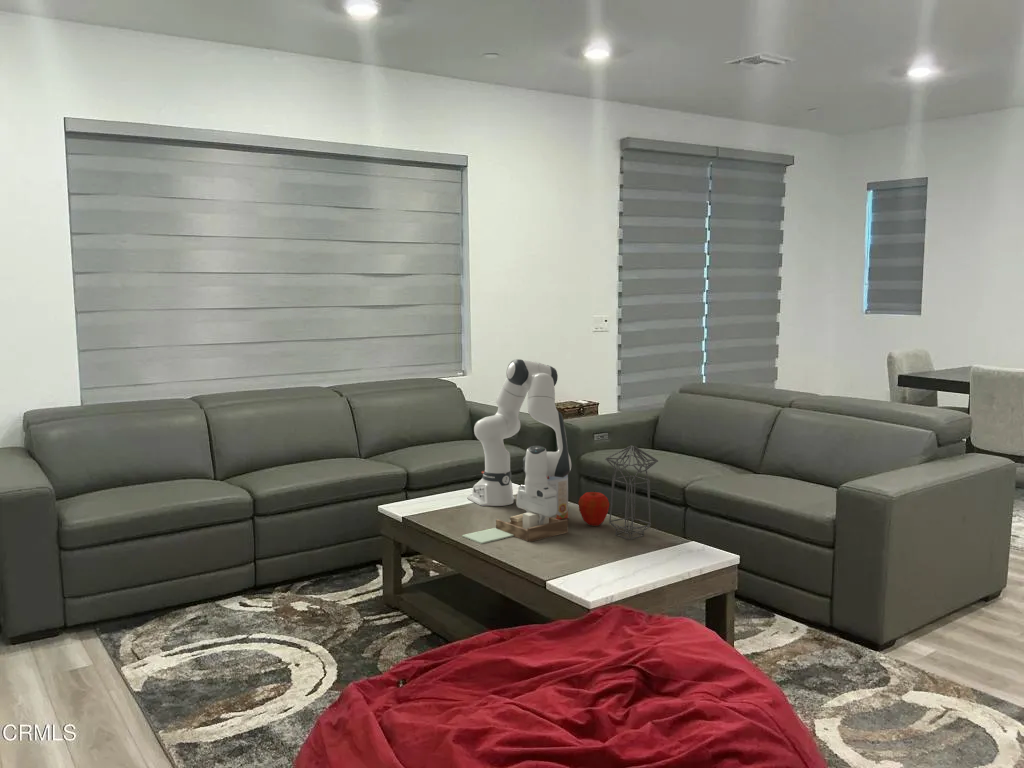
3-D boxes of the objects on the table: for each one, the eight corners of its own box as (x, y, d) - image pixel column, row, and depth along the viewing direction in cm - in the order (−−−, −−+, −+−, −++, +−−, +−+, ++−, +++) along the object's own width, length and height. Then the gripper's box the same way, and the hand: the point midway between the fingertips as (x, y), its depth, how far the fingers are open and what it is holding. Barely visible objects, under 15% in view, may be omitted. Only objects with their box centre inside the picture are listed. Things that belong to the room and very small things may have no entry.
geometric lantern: (601, 533, 333) (602, 444, 329) (631, 527, 342) (633, 440, 338) (629, 544, 320) (631, 451, 316) (659, 536, 329) (661, 446, 325)
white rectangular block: (522, 533, 333) (522, 513, 332) (542, 529, 339) (542, 509, 338) (529, 536, 330) (529, 515, 329) (548, 531, 336) (548, 511, 335)
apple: (572, 524, 346) (572, 490, 344) (592, 519, 354) (592, 485, 352) (594, 531, 336) (595, 495, 335) (615, 525, 344) (615, 491, 343)
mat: (462, 536, 329) (462, 535, 329) (495, 529, 339) (495, 527, 339) (481, 544, 319) (481, 542, 319) (514, 536, 329) (514, 534, 329)
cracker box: (560, 515, 359) (560, 466, 357) (568, 518, 354) (569, 468, 352) (532, 520, 352) (532, 469, 349) (540, 523, 347) (540, 472, 344)
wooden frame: (496, 529, 338) (496, 517, 337) (533, 521, 350) (533, 509, 349) (529, 541, 322) (529, 528, 322) (567, 532, 334) (567, 519, 334)
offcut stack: (509, 529, 339) (509, 517, 338) (526, 524, 346) (526, 512, 345) (516, 531, 336) (516, 519, 335) (533, 526, 343) (533, 514, 343)
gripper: (512, 484, 338) (512, 519, 340) (547, 494, 322) (547, 530, 324) (525, 482, 342) (524, 516, 344) (559, 492, 326) (559, 527, 328)
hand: (535, 523), depth 334 cm, fingers closed on white rectangular block, 4 cm apart
